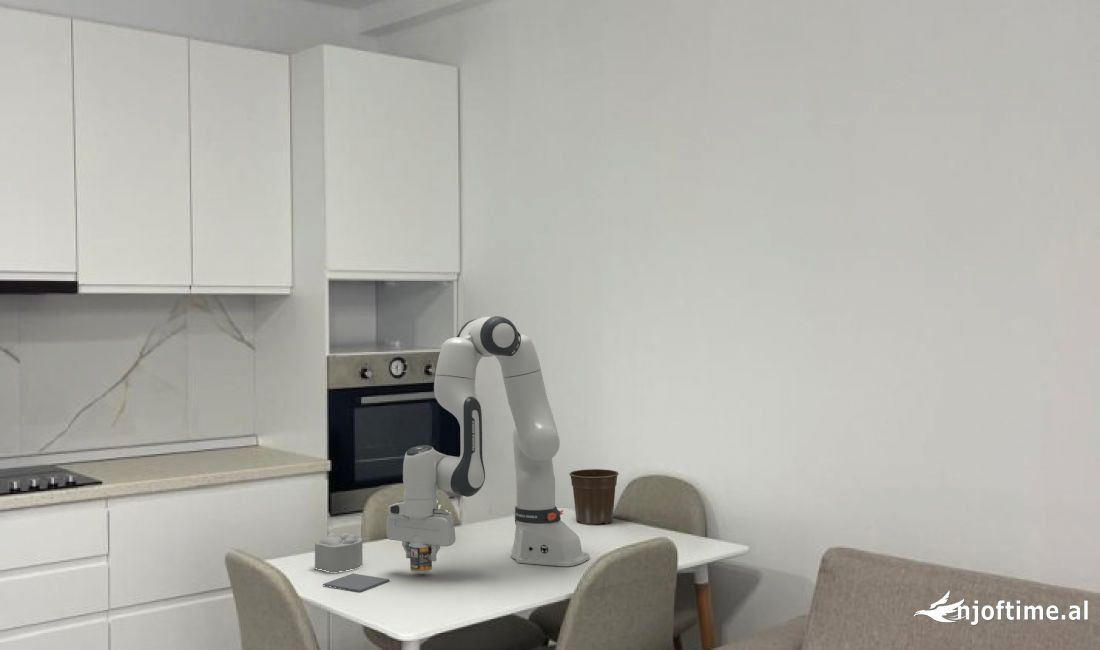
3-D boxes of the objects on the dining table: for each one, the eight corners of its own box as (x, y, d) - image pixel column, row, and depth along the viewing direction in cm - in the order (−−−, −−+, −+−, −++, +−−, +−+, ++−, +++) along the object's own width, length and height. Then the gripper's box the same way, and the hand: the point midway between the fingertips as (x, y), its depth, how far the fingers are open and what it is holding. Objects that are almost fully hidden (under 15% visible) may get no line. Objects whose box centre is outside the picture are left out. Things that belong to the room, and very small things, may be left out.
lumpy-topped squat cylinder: (309, 568, 294) (309, 536, 294) (346, 559, 304) (346, 529, 304) (334, 574, 288) (334, 542, 287) (371, 565, 298) (371, 534, 297)
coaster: (389, 581, 281) (389, 579, 281) (360, 592, 270) (360, 590, 270) (352, 575, 286) (352, 573, 286) (322, 586, 276) (322, 583, 276)
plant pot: (565, 525, 349) (565, 476, 349) (572, 515, 365) (573, 468, 365) (615, 527, 347) (615, 477, 346) (620, 517, 363) (620, 469, 362)
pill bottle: (423, 575, 283) (422, 537, 283) (406, 572, 286) (405, 535, 286) (436, 570, 288) (435, 533, 287) (419, 567, 291) (418, 530, 290)
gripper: (459, 508, 284) (460, 560, 285) (396, 502, 294) (397, 552, 294) (446, 513, 279) (447, 566, 279) (382, 506, 288) (383, 558, 289)
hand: (421, 559), depth 287 cm, fingers closed on pill bottle, 6 cm apart
